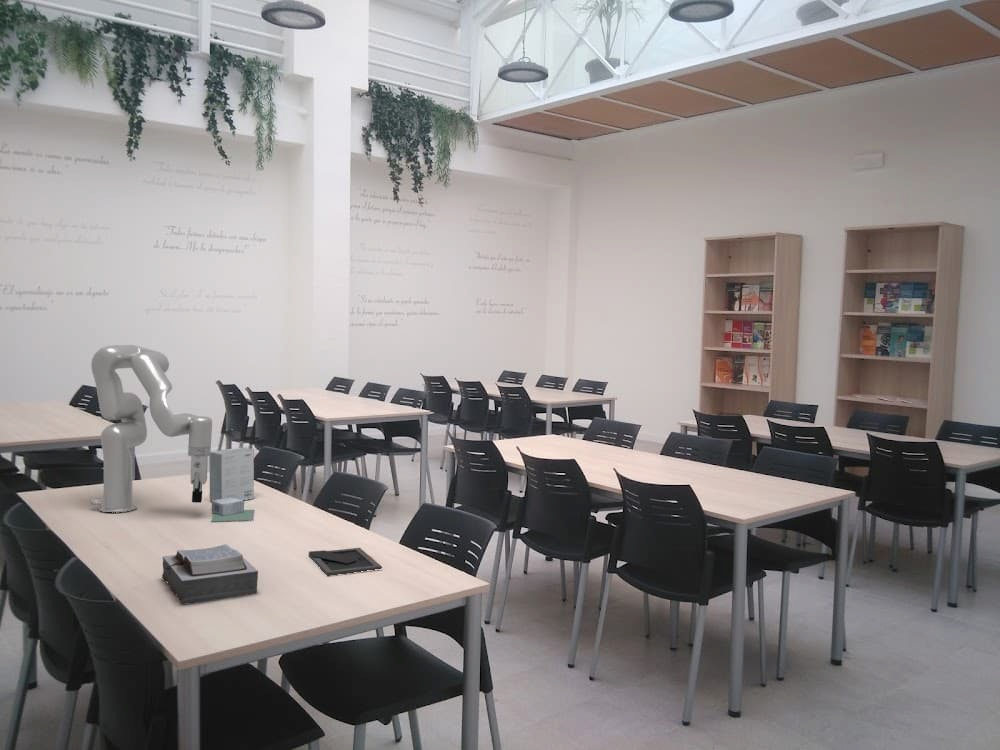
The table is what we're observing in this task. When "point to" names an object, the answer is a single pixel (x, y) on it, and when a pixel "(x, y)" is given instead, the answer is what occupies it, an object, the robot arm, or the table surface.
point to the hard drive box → (232, 474)
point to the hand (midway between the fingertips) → (196, 501)
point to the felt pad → (234, 517)
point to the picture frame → (343, 561)
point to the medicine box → (227, 506)
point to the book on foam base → (209, 574)
